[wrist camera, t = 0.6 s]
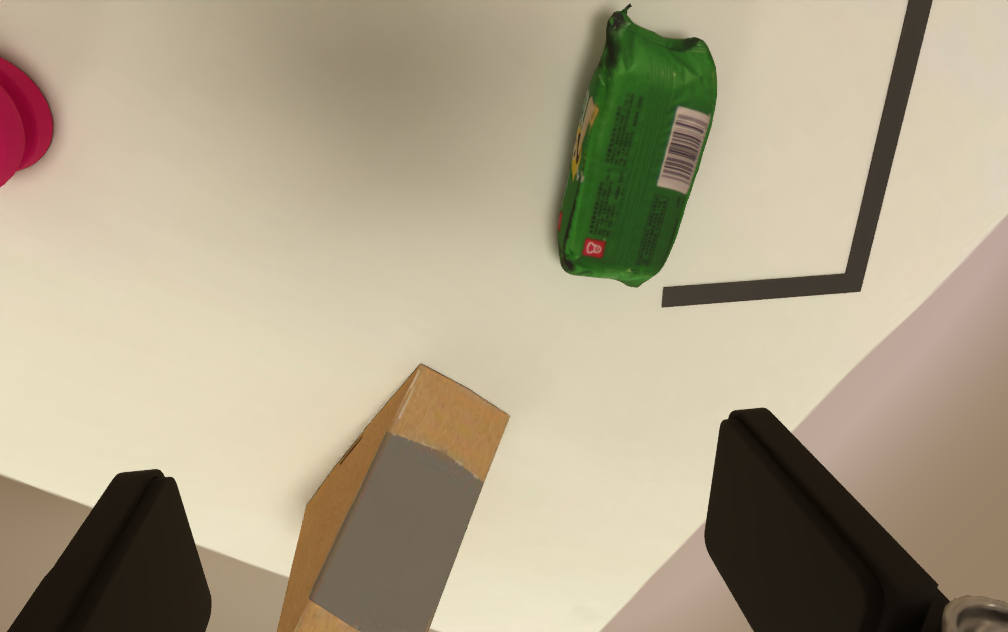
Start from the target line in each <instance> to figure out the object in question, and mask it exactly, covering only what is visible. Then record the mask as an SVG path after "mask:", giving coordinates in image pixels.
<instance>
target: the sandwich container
mask: <svg viewBox="0 0 1008 632" xmlns="http://www.w3.org/2000/svg"><path fill="white" fill-rule="evenodd" d="M509 418H510V416H508V415H507V414H505V413H504V412H502V411H501V410H499V409H498V408H496V407H495V406H493V405H492V404H490V403H489V402H487V401H485V400H484V399H482V398H481V397H479V396H478V395H476V394H475V393H473V392H472V391H470V390H469V389H467V388H465V387H463V386H461V385H459V384H458V383H456V382H454V381H452V380H450V379H448V378H446V377H444V376H442V375H441V374H439V373H437V372H435V371H433V370H431V369H429V368H427V367H425V366H424V365H422V364H420V365H419V367H418V368H417V369H416V370H415V371H414V372H413V374H412V375H411V376H410V377H409V378H408V379H407V381H406V382H405V383H404V384H403V385H402V386H401V388H400V389H399V390H398V391H397V392H396V393H395V395H394V396H393V397H392V398H391V399H390V401H389V402H388V403H387V404H386V405H385V406H384V408H383V409H382V410H381V411H380V412H379V413H378V415H377V416H376V417H375V418H374V419H373V420H372V422H371V423H370V424H369V425H368V426H367V427H366V429H365V430H364V432H363V433H362V434H361V436H360V437H359V438H358V439H357V441H356V442H355V443H354V445H353V446H352V447H351V448H350V450H349V451H348V452H347V453H346V455H345V456H344V457H343V458H342V459H341V461H340V462H339V463H337V465H336V466H335V468H334V469H333V470H332V472H331V473H330V474H329V476H328V477H327V479H326V480H325V481H324V483H323V484H322V485H321V487H320V488H319V490H318V491H317V492H316V494H315V495H314V496H313V498H312V499H311V501H310V502H309V503H308V505H307V506H306V510H305V514H304V518H303V522H302V526H301V531H300V535H299V539H298V543H297V547H296V551H295V556H294V560H293V564H292V568H291V573H290V577H289V581H288V586H287V590H286V594H285V599H284V603H283V607H282V612H281V616H280V620H279V624H278V629H277V632H428V630H429V628H430V625H431V623H432V620H433V617H434V614H435V612H436V609H437V606H438V604H439V601H440V598H441V596H442V593H443V590H444V588H445V585H446V582H447V580H448V577H449V575H450V572H451V569H452V567H453V564H454V561H455V559H456V556H457V553H458V551H459V548H460V545H461V542H462V540H463V537H464V534H465V532H466V529H467V526H468V524H469V521H470V518H471V516H472V513H473V510H474V508H475V505H476V502H477V500H478V497H479V494H480V492H481V489H482V486H483V484H484V481H485V479H486V476H487V474H488V471H489V468H490V466H491V463H492V461H493V458H494V456H495V453H496V451H497V448H498V445H499V443H500V440H501V438H502V435H503V433H504V430H505V428H506V425H507V423H508V420H509Z"/></svg>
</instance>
